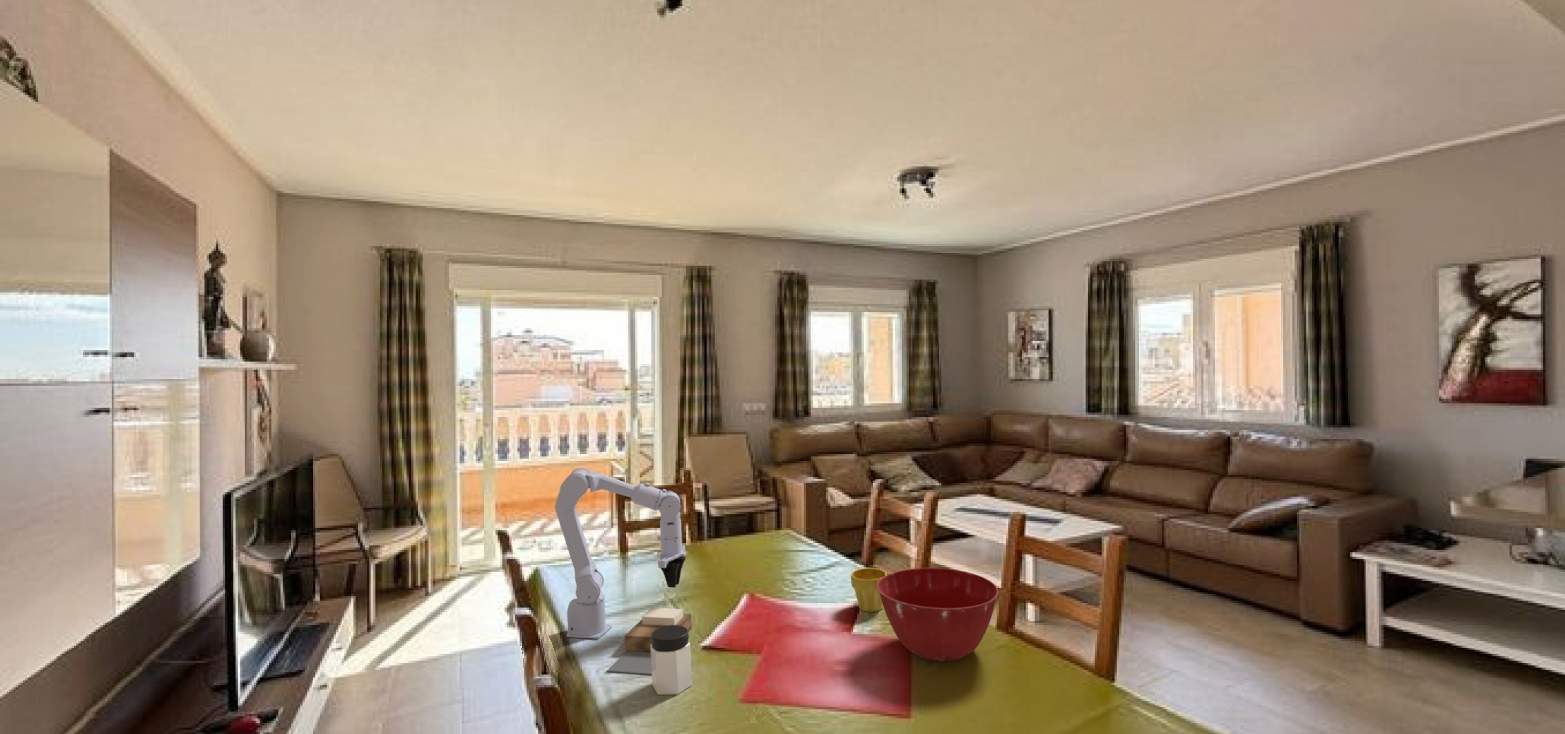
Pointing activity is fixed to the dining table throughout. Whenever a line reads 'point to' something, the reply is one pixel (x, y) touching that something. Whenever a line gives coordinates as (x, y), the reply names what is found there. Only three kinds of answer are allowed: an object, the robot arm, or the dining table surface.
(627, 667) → the mat
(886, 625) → the dining table surface
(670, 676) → the jar
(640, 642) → the plate
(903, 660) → the dining table surface
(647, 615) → the cream rectangular block
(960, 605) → the mixing bowl
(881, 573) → the plant pot
